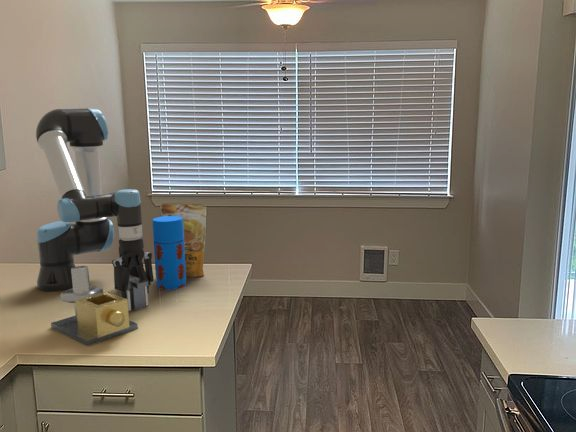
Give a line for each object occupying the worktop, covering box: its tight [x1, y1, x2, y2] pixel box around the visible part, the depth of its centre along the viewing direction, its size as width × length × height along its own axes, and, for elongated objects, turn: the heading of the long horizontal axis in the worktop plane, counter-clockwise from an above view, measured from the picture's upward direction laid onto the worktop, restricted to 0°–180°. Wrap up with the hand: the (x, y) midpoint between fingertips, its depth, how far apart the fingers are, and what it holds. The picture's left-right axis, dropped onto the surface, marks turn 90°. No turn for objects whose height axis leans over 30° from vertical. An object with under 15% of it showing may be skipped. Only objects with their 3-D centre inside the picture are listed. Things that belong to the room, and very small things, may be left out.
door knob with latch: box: [50, 265, 139, 347], centre depth 161 cm, size 26×16×18 cm, turn 49°
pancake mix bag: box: [158, 203, 209, 278], centre depth 214 cm, size 7×19×28 cm, turn 76°
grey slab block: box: [127, 275, 148, 312], centre depth 179 cm, size 10×4×10 cm, turn 49°
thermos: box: [152, 216, 187, 291], centre depth 201 cm, size 11×11×25 cm
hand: (136, 306), depth 180 cm, fingers open, 6 cm apart
